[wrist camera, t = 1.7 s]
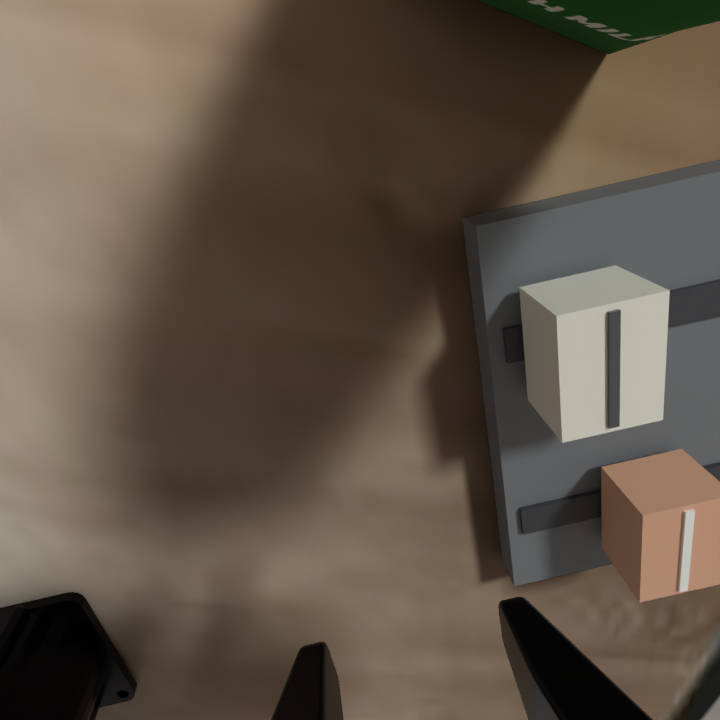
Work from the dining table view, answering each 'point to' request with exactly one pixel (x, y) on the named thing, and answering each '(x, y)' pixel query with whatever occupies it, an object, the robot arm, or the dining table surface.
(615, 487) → the fader terracotta
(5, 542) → the dining table surface
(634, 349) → the fader ivory
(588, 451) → the console
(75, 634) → the robot arm
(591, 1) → the milk carton
